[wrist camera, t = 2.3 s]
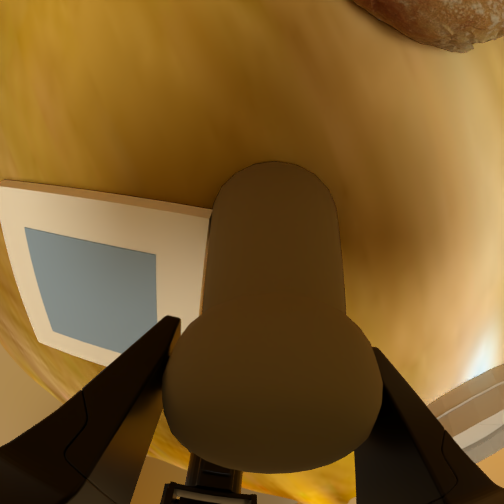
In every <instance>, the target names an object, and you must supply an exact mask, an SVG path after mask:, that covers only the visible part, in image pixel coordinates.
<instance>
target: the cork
mask: <svg viewBox="0 0 504 504" xmlns="http://www.w3.org/2000/svg"><path fill="white" fill-rule="evenodd" d="M382 390H383V382H382V378H381V374H380V371H379V367H378V364H377V361H376V358H375V355H374V352H373V349H372V346H371V343H370V342H369V341H368V339H367V338H366V336H365V335H364V333H363V332H362V330H361V329H360V328H359V327H358V326H357V325H356V324H355V323H354V322H353V321H352V320H351V319H350V318H349V317H348V316H347V315H346V302H345V288H344V276H343V264H342V254H341V244H340V235H339V226H338V218H337V210H336V206H335V203H334V201H333V198H332V196H331V194H330V191H329V189H328V188H327V187H326V186H325V185H324V184H323V183H322V182H321V181H320V180H319V179H318V177H317V176H316V175H314V174H312V173H310V172H309V171H307V170H305V169H303V168H301V167H299V166H298V165H293V164H288V163H282V162H277V161H275V162H267V163H260V164H254V165H252V166H250V167H248V168H246V169H244V170H242V171H239V172H237V173H236V174H235V175H234V176H232V177H231V178H230V179H229V180H228V181H227V182H226V183H225V184H224V185H223V186H222V187H221V189H220V192H219V194H218V196H217V198H216V200H215V202H214V204H213V212H212V220H211V228H210V237H209V246H208V255H207V265H206V275H205V285H204V296H203V307H202V314H201V315H200V316H199V317H198V318H196V319H195V320H194V321H192V322H191V323H190V324H189V325H188V327H187V328H186V329H185V331H184V332H183V333H182V335H181V336H180V337H179V339H178V340H177V342H176V344H175V346H174V348H173V350H172V352H171V354H170V356H169V359H168V361H167V364H166V367H165V370H164V373H163V376H162V402H163V408H164V414H165V417H166V419H167V422H168V425H169V427H170V430H171V432H172V434H173V435H174V436H175V437H176V438H177V439H178V441H179V442H180V443H181V444H182V445H183V446H184V447H186V448H187V449H188V450H190V451H191V452H192V453H194V454H196V455H197V456H199V457H201V458H202V459H204V460H206V461H208V462H211V463H214V464H216V465H219V466H222V467H225V468H229V469H234V470H239V471H244V472H252V473H265V474H277V473H293V472H300V471H306V470H312V469H315V468H319V467H322V466H325V465H329V464H331V463H333V462H335V461H337V460H339V459H341V458H343V457H345V456H347V455H348V454H350V453H351V452H353V451H354V450H355V449H357V448H358V447H359V446H360V445H361V444H362V443H363V442H364V441H365V440H366V439H367V438H368V437H369V435H370V433H371V431H372V429H373V426H374V424H375V422H376V420H377V417H378V414H379V411H380V408H381V405H382Z"/></svg>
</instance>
